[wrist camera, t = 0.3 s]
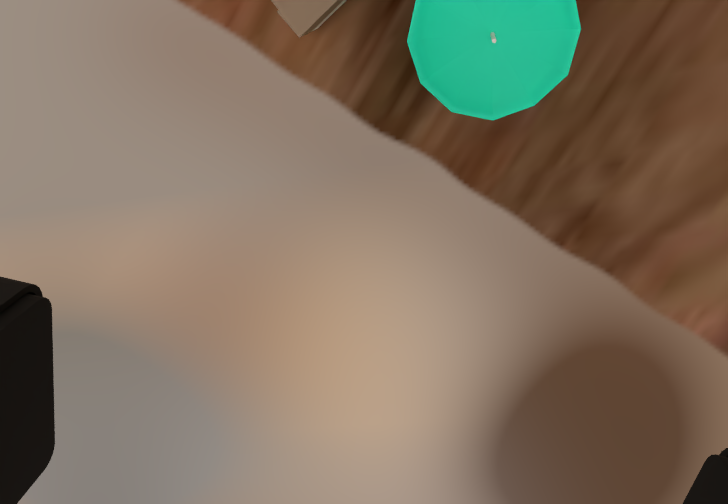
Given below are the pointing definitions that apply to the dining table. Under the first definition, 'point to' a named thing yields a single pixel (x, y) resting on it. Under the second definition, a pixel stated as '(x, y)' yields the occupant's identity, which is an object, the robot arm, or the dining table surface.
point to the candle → (492, 52)
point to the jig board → (306, 13)
